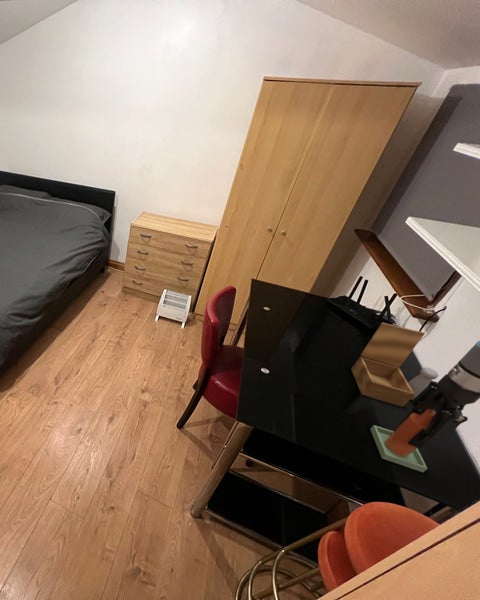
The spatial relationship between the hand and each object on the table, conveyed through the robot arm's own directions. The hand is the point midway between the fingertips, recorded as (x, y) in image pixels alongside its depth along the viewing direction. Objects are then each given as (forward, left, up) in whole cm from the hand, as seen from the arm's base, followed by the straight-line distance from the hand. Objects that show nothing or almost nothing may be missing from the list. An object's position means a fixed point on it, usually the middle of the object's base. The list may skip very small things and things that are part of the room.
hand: (409, 435), depth 96 cm
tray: (0, 0, -7) cm, 7 cm away
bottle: (0, 0, -6) cm, 6 cm away
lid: (+37, -3, +8) cm, 38 cm away
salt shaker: (+30, -14, -7) cm, 34 cm away
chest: (+29, -3, -7) cm, 30 cm away
